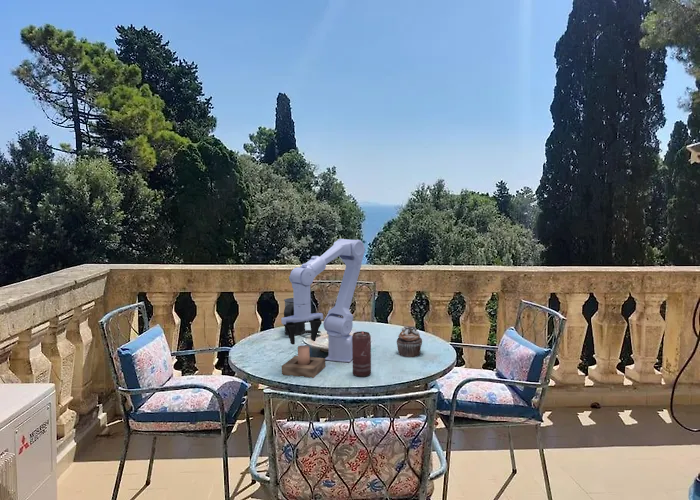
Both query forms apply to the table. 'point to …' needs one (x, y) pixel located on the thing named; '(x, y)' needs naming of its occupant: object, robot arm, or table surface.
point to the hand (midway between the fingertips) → (303, 342)
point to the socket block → (303, 367)
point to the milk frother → (290, 311)
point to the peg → (303, 355)
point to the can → (361, 354)
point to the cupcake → (409, 342)
